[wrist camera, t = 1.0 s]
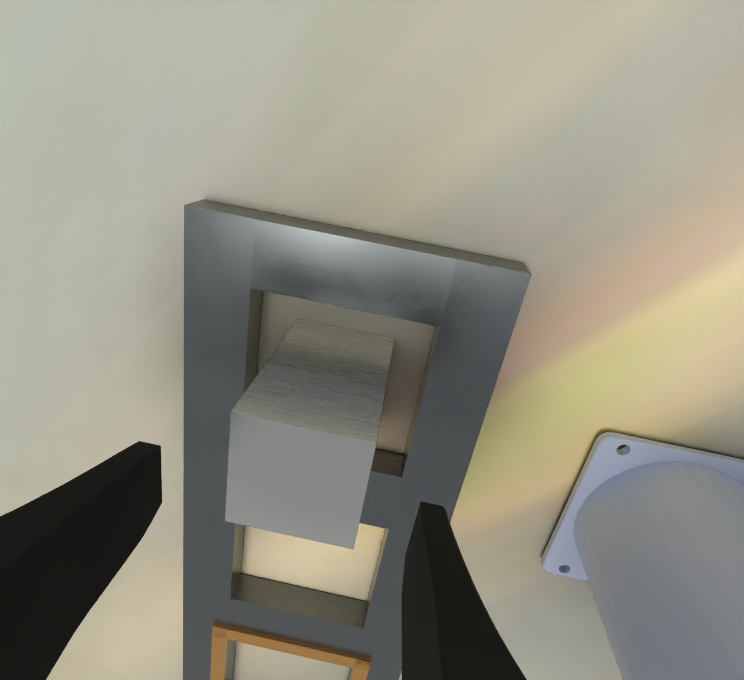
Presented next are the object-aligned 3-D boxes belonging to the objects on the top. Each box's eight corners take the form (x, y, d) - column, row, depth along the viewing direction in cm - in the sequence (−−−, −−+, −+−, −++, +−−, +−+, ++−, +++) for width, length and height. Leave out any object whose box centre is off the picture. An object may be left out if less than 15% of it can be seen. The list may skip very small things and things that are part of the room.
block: (394, 338, 19) (376, 442, 12) (377, 420, 20) (353, 549, 14) (297, 318, 19) (231, 412, 13) (288, 401, 21) (224, 520, 14)
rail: (523, 262, 17) (532, 275, 15) (372, 737, 30) (369, 769, 29) (203, 199, 17) (181, 205, 16) (193, 695, 31) (181, 725, 29)
